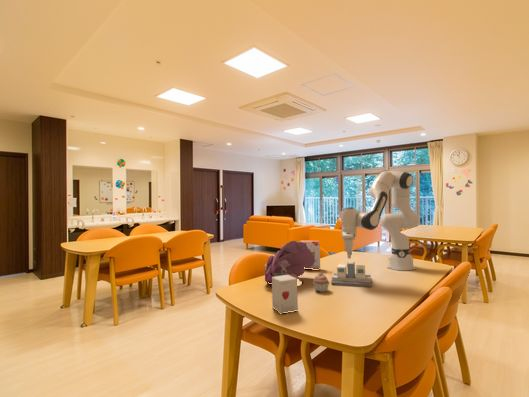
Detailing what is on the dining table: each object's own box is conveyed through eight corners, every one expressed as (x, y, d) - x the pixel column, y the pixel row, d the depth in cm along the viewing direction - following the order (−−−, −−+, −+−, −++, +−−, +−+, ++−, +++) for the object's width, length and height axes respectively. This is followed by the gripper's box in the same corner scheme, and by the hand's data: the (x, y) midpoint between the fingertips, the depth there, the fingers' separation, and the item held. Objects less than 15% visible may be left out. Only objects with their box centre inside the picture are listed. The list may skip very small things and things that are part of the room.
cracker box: (299, 269, 208) (298, 241, 208) (301, 268, 213) (300, 240, 214) (319, 271, 202) (317, 241, 203) (320, 269, 208) (319, 240, 208)
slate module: (348, 276, 177) (347, 261, 177) (355, 276, 176) (354, 261, 176) (347, 278, 171) (347, 263, 171) (354, 279, 170) (354, 263, 170)
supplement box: (280, 315, 125) (279, 281, 126) (272, 308, 134) (270, 276, 134) (298, 311, 129) (297, 278, 129) (289, 305, 137) (288, 274, 138)
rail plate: (334, 276, 186) (334, 262, 186) (370, 278, 179) (369, 263, 179) (331, 284, 168) (330, 269, 168) (371, 287, 161) (370, 270, 161)
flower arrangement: (288, 301, 157) (293, 252, 152) (253, 287, 169) (256, 242, 164) (313, 279, 186) (318, 238, 181) (281, 269, 198) (285, 230, 193)
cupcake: (311, 292, 155) (310, 274, 155) (314, 287, 164) (313, 270, 164) (328, 294, 152) (328, 275, 152) (331, 289, 160) (330, 271, 161)
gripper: (345, 231, 185) (345, 253, 185) (342, 236, 166) (343, 260, 166) (355, 231, 183) (356, 253, 183) (353, 236, 164) (354, 260, 164)
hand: (349, 256), depth 174 cm, fingers open, 8 cm apart
